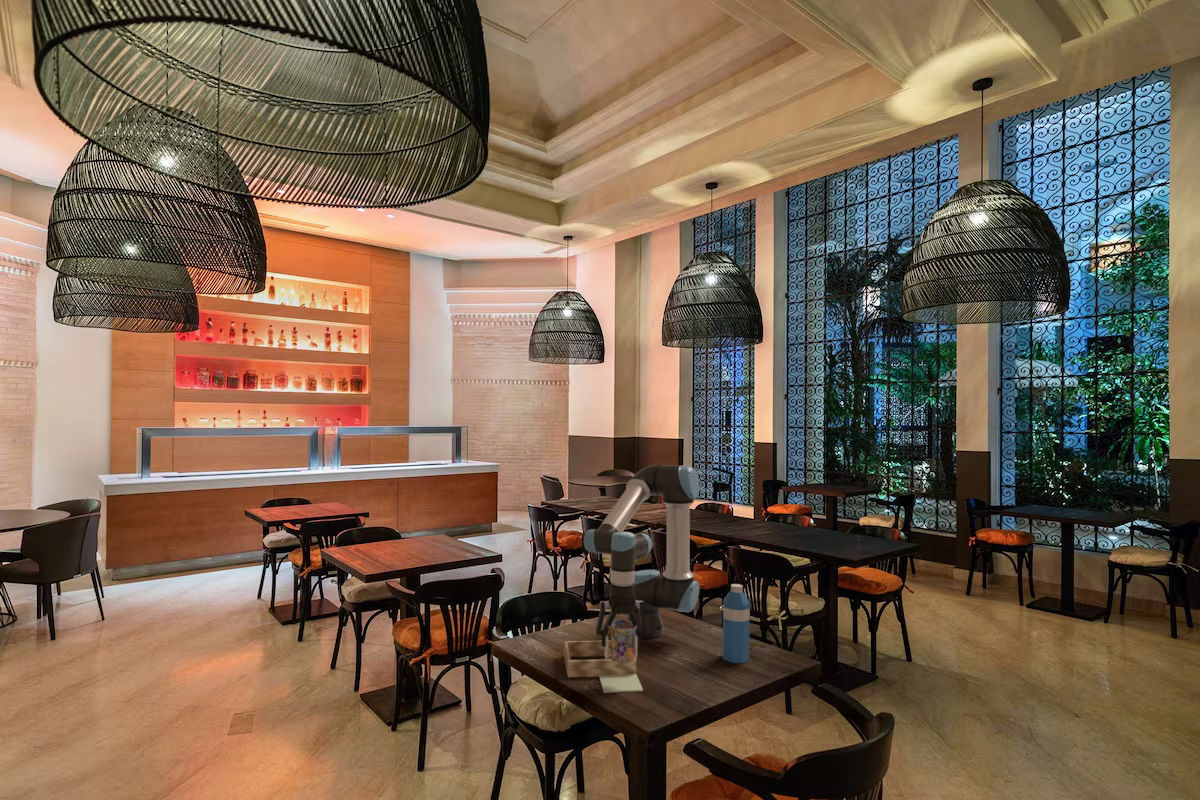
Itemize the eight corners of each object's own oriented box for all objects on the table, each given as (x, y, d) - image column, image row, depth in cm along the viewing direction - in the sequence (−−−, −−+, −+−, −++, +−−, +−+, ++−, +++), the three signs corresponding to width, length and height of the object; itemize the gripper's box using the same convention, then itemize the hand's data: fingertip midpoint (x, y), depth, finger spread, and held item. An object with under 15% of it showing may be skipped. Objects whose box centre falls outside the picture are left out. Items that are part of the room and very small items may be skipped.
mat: (636, 675, 207) (636, 673, 207) (643, 691, 195) (643, 689, 195) (599, 676, 206) (599, 674, 206) (603, 692, 194) (603, 691, 194)
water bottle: (718, 660, 221) (719, 586, 222) (726, 651, 230) (727, 580, 230) (745, 665, 217) (746, 590, 217) (752, 656, 225) (753, 584, 226)
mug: (640, 663, 196) (641, 628, 196) (611, 666, 193) (612, 630, 193) (627, 649, 207) (628, 616, 208) (600, 651, 205) (600, 618, 205)
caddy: (627, 654, 225) (627, 639, 225) (636, 675, 207) (636, 659, 207) (564, 655, 222) (564, 641, 222) (567, 677, 204) (567, 661, 204)
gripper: (653, 579, 206) (652, 651, 205) (587, 580, 203) (585, 652, 203) (658, 585, 198) (656, 660, 198) (589, 586, 196) (587, 661, 195)
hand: (620, 656), depth 200 cm, fingers closed on mug, 8 cm apart
